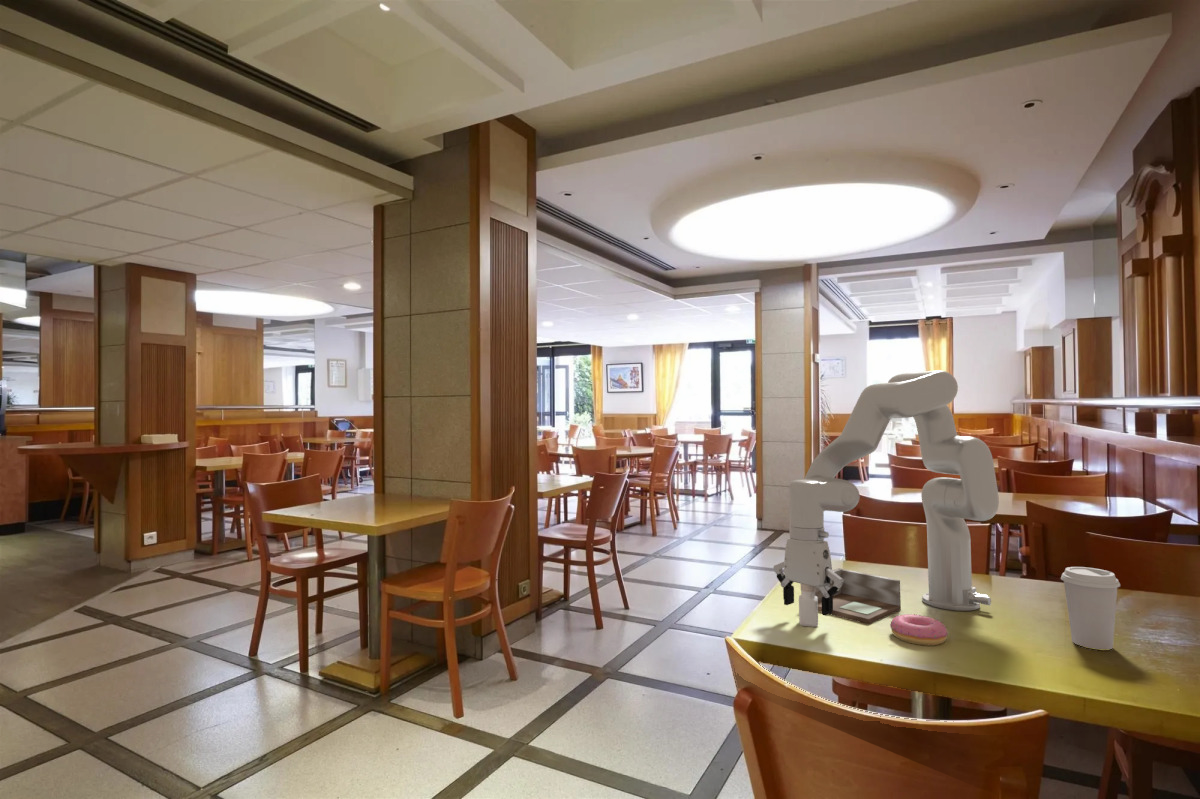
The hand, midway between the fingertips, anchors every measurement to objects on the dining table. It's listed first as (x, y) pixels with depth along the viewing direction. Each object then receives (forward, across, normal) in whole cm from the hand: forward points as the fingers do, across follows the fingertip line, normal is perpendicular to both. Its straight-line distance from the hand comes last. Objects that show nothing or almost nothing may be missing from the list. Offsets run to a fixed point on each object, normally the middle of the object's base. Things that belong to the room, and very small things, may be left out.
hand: (807, 608), depth 139 cm
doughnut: (+4, -20, -10) cm, 23 cm away
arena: (+3, -1, -18) cm, 19 cm away
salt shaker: (+4, 0, 0) cm, 4 cm away
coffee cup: (+3, -45, -32) cm, 56 cm away
